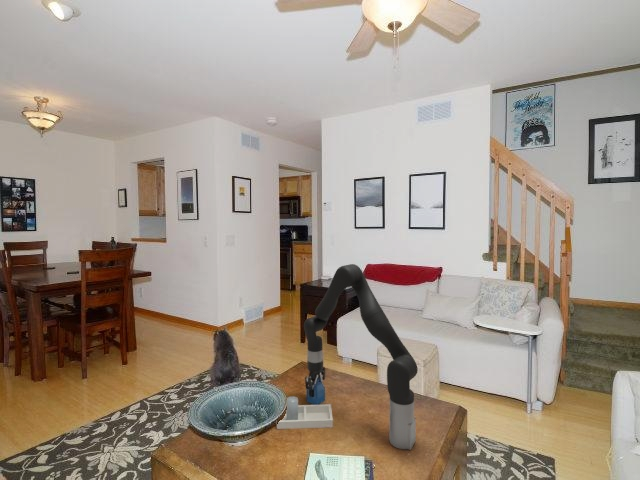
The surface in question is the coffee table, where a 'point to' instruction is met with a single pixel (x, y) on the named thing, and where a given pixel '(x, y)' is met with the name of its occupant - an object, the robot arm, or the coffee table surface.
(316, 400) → the perfume bottle
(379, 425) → the coffee table surface
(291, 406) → the grey rounded cylinder
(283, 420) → the tray
